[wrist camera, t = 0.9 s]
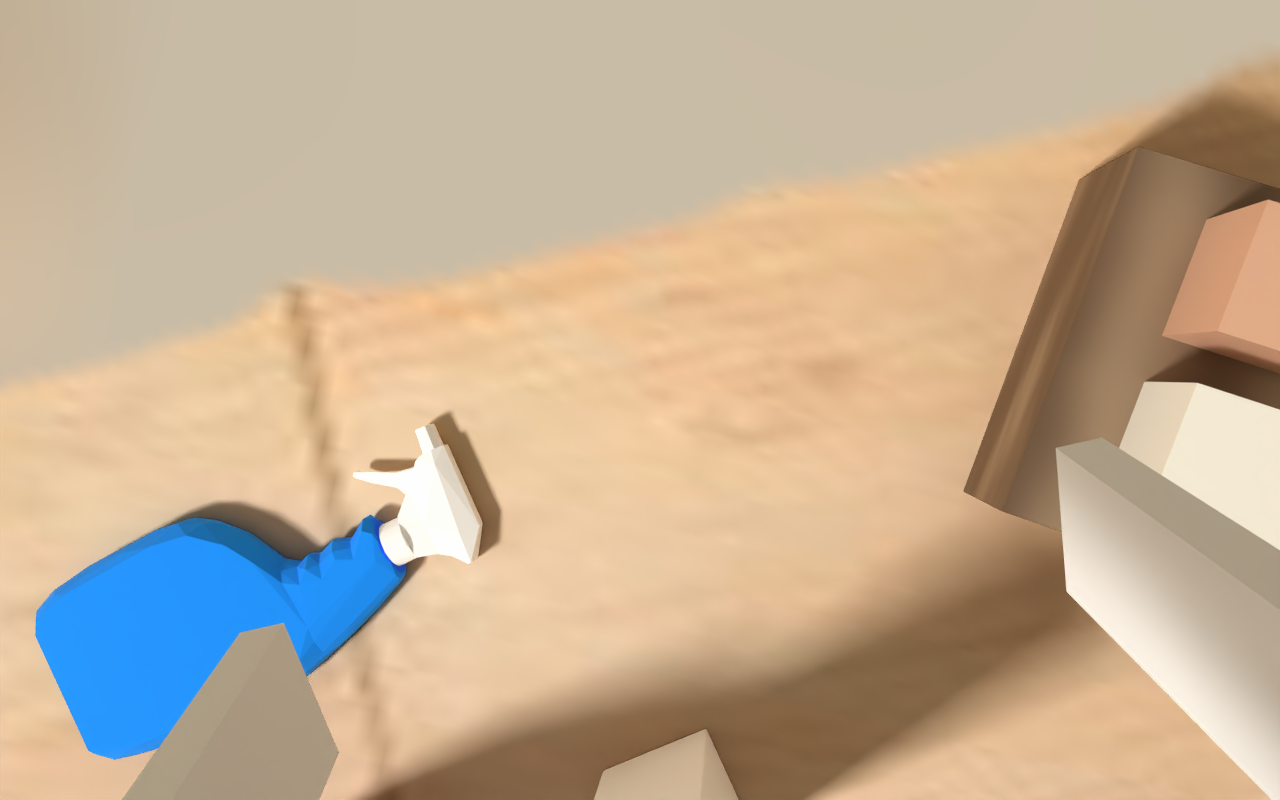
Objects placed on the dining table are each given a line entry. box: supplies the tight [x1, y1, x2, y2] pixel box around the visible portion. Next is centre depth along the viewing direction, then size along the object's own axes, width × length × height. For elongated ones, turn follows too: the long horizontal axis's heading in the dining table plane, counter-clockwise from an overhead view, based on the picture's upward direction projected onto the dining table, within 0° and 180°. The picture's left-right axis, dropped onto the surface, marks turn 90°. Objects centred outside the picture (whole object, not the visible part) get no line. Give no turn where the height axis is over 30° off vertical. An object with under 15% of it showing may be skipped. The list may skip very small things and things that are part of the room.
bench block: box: [964, 147, 1280, 532], centre depth 38 cm, size 12×16×6 cm
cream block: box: [1119, 382, 1280, 550], centre depth 33 cm, size 5×5×4 cm
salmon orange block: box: [1162, 200, 1280, 374], centre depth 32 cm, size 5×5×4 cm
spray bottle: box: [36, 424, 483, 760], centre depth 45 cm, size 3×11×24 cm
